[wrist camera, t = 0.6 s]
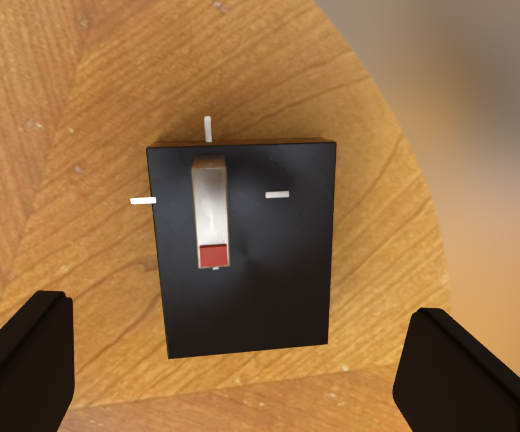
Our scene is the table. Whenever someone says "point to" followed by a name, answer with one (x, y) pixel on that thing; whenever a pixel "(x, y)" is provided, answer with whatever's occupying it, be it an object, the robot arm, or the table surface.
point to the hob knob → (211, 210)
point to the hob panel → (246, 245)
